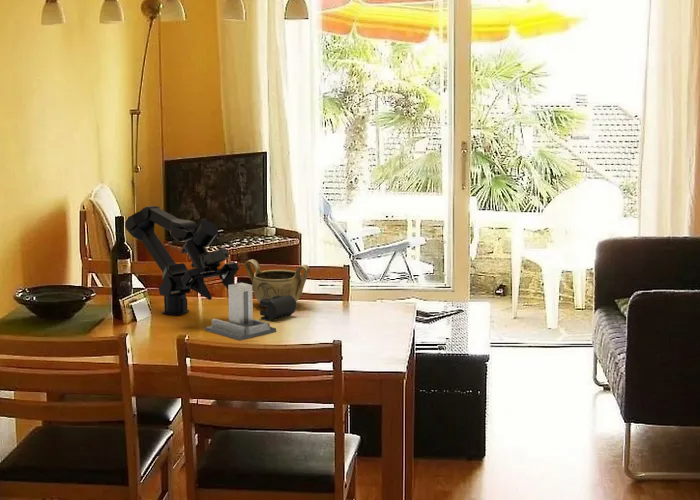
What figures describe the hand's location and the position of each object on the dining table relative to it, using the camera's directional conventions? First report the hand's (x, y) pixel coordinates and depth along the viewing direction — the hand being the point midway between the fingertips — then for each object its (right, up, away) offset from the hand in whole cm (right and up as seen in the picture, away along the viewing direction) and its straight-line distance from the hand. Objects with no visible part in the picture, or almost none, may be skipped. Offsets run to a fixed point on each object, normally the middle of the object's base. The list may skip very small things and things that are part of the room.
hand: (222, 296), depth 308 cm
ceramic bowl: (+15, -5, +28) cm, 32 cm away
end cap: (+16, -8, +12) cm, 21 cm away
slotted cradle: (+6, -10, -4) cm, 12 cm away
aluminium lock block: (+6, -9, -4) cm, 12 cm away
